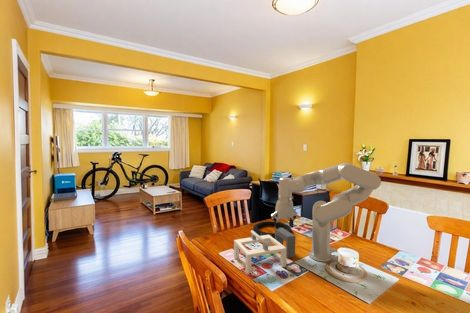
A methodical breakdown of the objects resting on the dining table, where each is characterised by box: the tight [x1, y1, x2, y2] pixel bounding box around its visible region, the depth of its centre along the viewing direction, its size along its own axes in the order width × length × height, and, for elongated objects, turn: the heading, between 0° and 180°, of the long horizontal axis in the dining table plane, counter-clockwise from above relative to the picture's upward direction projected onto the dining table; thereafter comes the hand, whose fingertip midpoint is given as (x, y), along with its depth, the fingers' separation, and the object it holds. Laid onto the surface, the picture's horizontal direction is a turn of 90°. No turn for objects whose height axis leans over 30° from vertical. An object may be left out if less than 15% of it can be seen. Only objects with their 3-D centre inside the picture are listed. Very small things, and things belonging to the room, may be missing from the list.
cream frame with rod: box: [233, 229, 287, 275], centre depth 133 cm, size 22×19×14 cm
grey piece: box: [274, 227, 296, 259], centre depth 145 cm, size 14×5×12 cm, turn 21°
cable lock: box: [252, 220, 293, 239], centre depth 176 cm, size 28×4×30 cm
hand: (283, 227), depth 144 cm, fingers open, 9 cm apart
